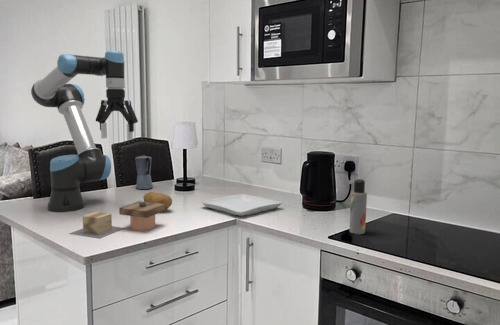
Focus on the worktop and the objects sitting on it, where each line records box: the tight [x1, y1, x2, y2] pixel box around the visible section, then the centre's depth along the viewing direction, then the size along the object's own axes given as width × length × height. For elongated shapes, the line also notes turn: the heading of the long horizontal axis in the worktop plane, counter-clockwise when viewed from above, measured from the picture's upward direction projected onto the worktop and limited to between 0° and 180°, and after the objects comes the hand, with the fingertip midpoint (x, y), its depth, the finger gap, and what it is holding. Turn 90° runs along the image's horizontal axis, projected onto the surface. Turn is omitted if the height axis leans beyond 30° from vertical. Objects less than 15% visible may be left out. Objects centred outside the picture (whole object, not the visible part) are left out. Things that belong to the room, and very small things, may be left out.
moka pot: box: [134, 152, 153, 190], centre depth 235 cm, size 10×15×20 cm, turn 40°
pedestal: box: [82, 211, 113, 235], centre depth 155 cm, size 7×7×6 cm
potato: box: [143, 191, 173, 211], centre depth 187 cm, size 10×14×8 cm
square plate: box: [200, 193, 283, 217], centre depth 194 cm, size 27×27×4 cm
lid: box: [118, 200, 166, 218], centre depth 160 cm, size 12×12×4 cm
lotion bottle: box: [349, 178, 368, 235], centre depth 158 cm, size 6×6×20 cm
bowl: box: [129, 214, 157, 231], centre depth 161 cm, size 9×9×6 cm
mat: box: [68, 225, 126, 240], centre depth 156 cm, size 14×14×1 cm
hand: (116, 139), depth 182 cm, fingers open, 13 cm apart
